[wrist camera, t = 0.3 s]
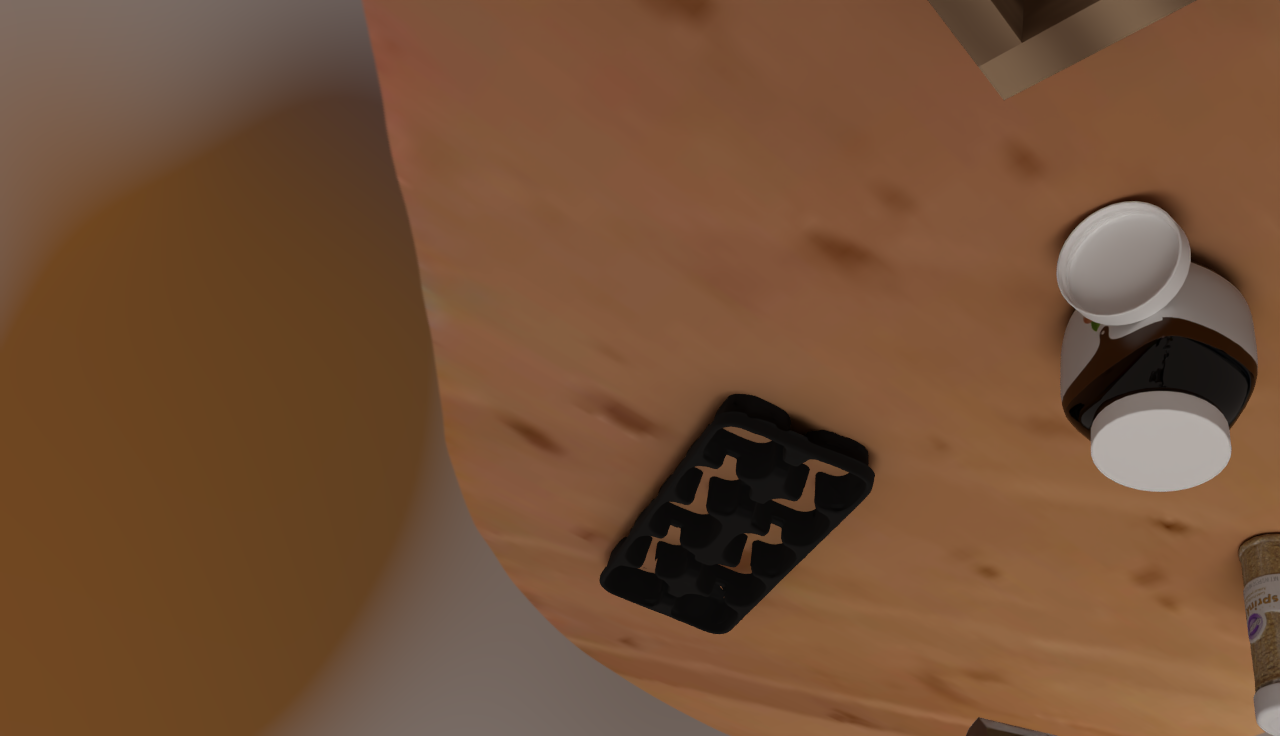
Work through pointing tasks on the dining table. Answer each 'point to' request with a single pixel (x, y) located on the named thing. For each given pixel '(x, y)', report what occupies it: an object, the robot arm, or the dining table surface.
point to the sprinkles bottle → (1264, 624)
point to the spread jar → (1151, 350)
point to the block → (1042, 33)
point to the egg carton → (736, 517)
